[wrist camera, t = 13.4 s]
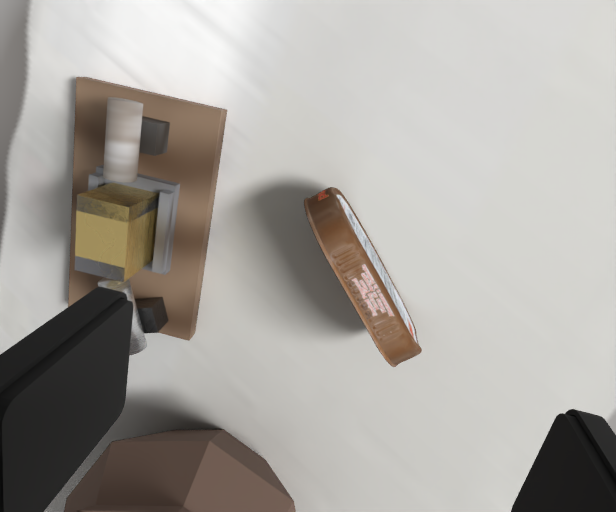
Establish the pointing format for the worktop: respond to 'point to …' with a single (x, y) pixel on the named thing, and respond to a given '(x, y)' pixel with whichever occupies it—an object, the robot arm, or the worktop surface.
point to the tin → (362, 275)
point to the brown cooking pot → (180, 476)
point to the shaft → (140, 313)
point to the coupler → (115, 230)
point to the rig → (152, 185)
